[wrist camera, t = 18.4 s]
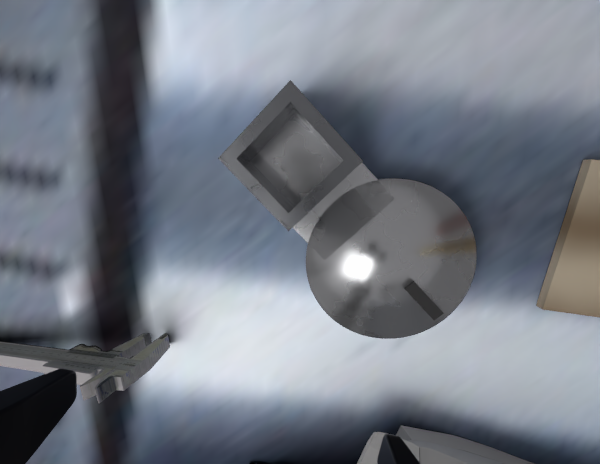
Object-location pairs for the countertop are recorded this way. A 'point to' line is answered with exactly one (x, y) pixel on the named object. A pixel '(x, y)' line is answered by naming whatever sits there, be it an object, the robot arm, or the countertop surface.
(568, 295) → the tan square plate
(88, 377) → the caliper
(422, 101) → the countertop surface
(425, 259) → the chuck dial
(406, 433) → the iron
